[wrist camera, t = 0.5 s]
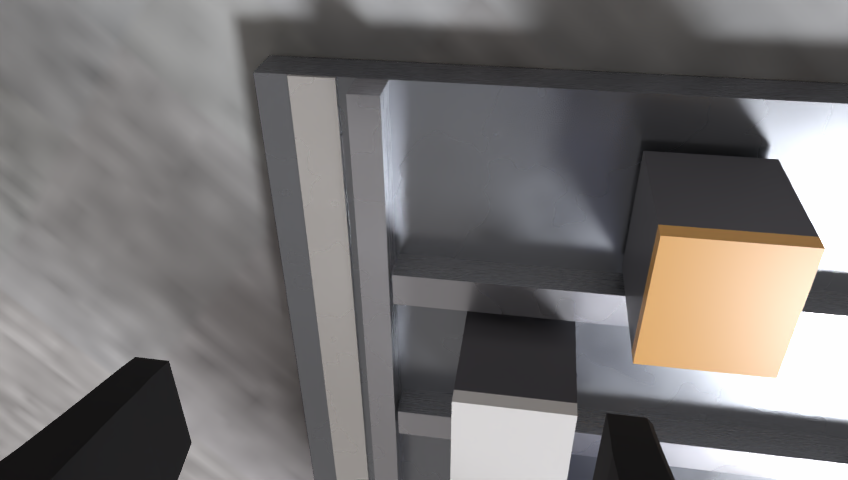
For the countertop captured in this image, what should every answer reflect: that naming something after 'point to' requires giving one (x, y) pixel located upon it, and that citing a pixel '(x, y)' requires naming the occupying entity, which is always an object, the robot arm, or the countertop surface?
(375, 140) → the panel
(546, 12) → the countertop surface
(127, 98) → the countertop surface
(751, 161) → the block
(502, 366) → the block
